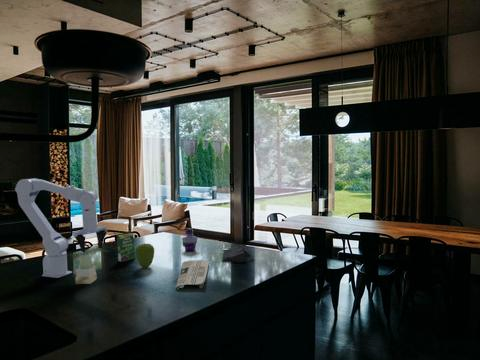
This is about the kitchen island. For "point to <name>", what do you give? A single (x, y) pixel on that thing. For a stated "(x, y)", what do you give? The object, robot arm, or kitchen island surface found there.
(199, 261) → the newspaper
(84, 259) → the sage cylinder
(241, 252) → the dark slate chunk
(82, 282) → the tower base block
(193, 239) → the potion bottle
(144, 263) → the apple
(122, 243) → the coffee box
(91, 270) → the tower top block
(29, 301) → the kitchen island surface
